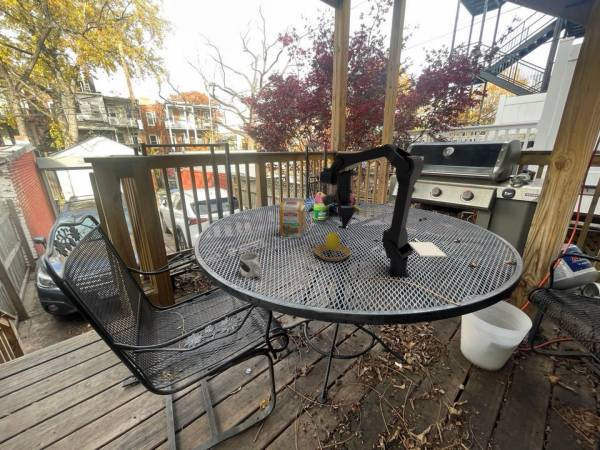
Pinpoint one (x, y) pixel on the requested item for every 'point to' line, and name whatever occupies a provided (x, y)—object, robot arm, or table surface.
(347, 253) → the plant saucer
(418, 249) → the placemat
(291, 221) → the plastic snack jar
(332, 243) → the lemon
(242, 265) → the mug
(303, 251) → the table surface
